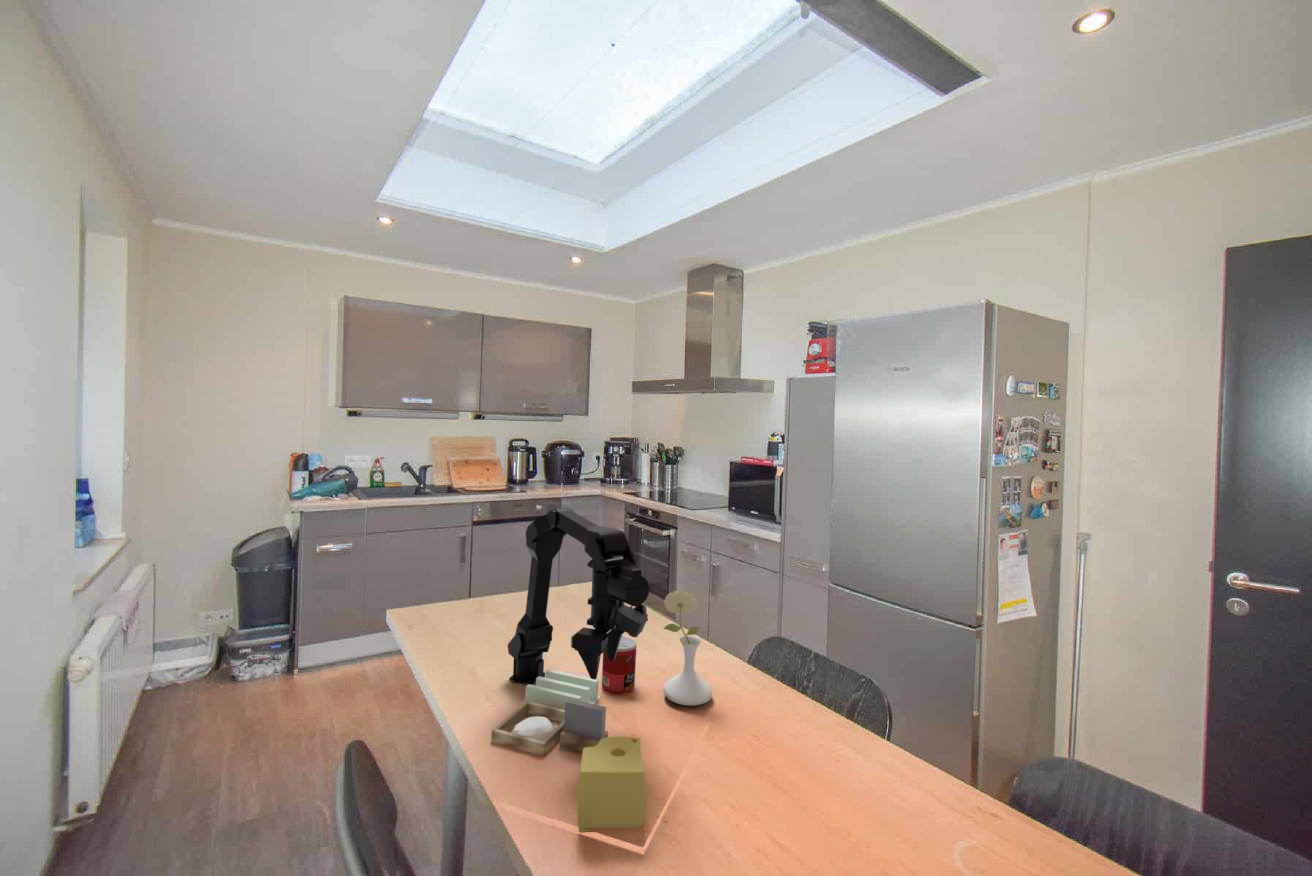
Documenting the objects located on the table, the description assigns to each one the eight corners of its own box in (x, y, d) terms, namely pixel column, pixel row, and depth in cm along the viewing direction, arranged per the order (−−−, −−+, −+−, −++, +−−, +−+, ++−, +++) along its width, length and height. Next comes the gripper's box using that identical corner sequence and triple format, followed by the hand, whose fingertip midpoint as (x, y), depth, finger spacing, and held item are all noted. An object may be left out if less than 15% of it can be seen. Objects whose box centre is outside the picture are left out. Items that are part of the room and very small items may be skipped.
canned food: (630, 697, 132) (632, 650, 132) (597, 692, 134) (599, 646, 133) (637, 682, 140) (639, 638, 139) (606, 678, 141) (608, 634, 141)
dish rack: (521, 709, 124) (522, 687, 124) (547, 687, 135) (548, 667, 134) (578, 724, 120) (579, 700, 119) (600, 700, 130) (601, 678, 130)
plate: (563, 742, 111) (565, 701, 111) (567, 737, 113) (569, 698, 113) (600, 751, 109) (602, 710, 108) (604, 747, 110) (606, 706, 110)
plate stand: (557, 752, 109) (558, 735, 109) (572, 736, 115) (573, 720, 115) (595, 762, 107) (596, 745, 107) (608, 745, 112) (609, 729, 112)
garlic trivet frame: (491, 745, 110) (491, 730, 110) (526, 714, 122) (527, 700, 122) (543, 760, 107) (544, 744, 106) (575, 726, 118) (575, 712, 118)
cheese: (579, 791, 98) (581, 734, 98) (641, 791, 99) (643, 734, 99) (575, 835, 88) (578, 772, 88) (645, 834, 89) (648, 772, 89)
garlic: (516, 753, 109) (517, 733, 109) (508, 735, 115) (508, 716, 115) (556, 743, 112) (557, 725, 112) (546, 726, 118) (547, 708, 118)
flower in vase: (718, 694, 136) (724, 590, 135) (701, 716, 125) (707, 603, 124) (668, 681, 141) (673, 581, 140) (648, 701, 131) (653, 593, 130)
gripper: (626, 612, 103) (623, 697, 104) (658, 585, 121) (655, 658, 121) (571, 604, 107) (568, 686, 107) (609, 579, 124) (606, 650, 125)
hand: (603, 669), depth 115 cm, fingers open, 9 cm apart
